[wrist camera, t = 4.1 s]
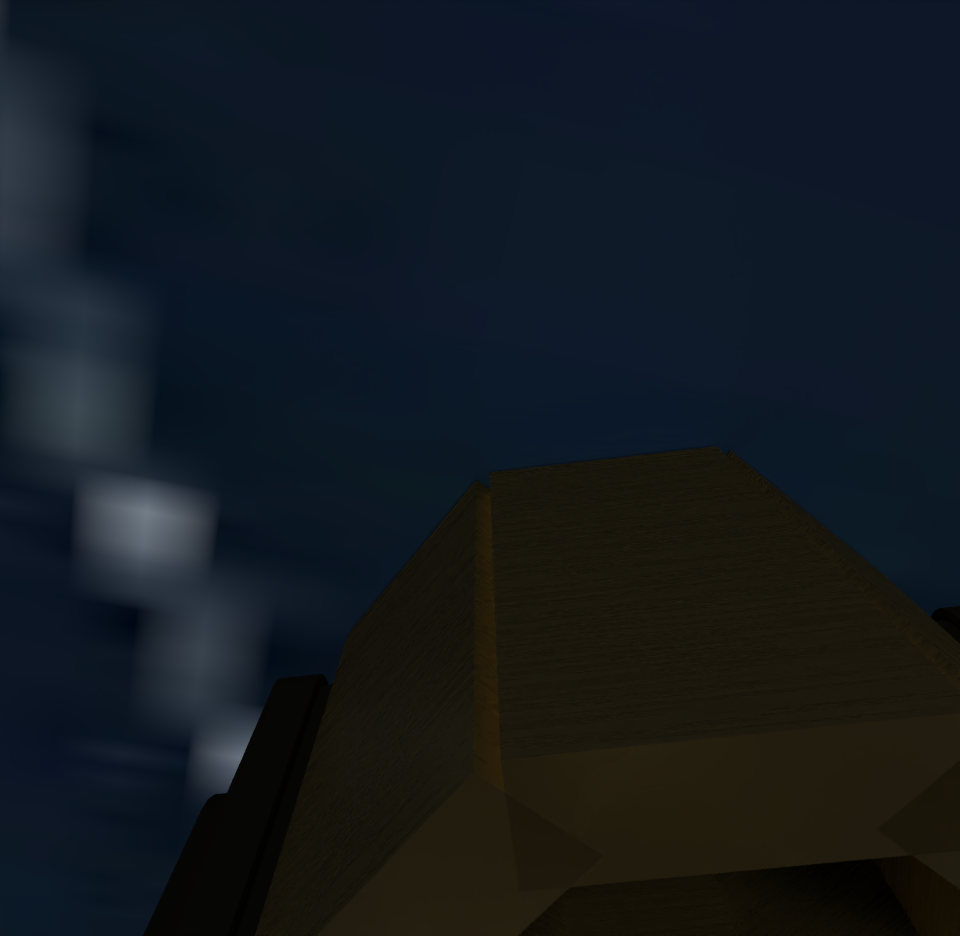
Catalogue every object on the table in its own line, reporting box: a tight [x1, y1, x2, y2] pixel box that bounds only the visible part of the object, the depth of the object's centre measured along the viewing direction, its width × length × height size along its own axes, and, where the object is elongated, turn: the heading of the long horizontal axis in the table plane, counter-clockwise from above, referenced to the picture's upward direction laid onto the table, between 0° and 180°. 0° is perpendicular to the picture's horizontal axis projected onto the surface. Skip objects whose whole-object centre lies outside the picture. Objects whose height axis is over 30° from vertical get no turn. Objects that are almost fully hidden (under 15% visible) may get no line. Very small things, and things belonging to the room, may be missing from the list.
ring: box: [255, 446, 960, 936], centre depth 8 cm, size 7×7×5 cm
